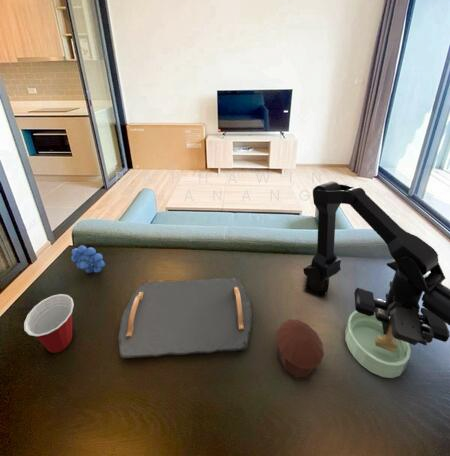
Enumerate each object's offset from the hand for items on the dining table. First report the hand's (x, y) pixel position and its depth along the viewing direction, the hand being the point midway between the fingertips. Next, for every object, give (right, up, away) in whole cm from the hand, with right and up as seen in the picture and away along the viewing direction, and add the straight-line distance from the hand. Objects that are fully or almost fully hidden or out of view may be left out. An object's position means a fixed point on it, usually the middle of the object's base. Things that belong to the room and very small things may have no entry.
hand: (389, 334), depth 63 cm
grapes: (-93, +3, +26) cm, 96 cm away
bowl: (-2, -6, +3) cm, 7 cm away
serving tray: (-54, -3, +11) cm, 55 cm away
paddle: (0, -5, +2) cm, 5 cm away
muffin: (-24, -7, +1) cm, 25 cm away
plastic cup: (-89, -6, +4) cm, 89 cm away
